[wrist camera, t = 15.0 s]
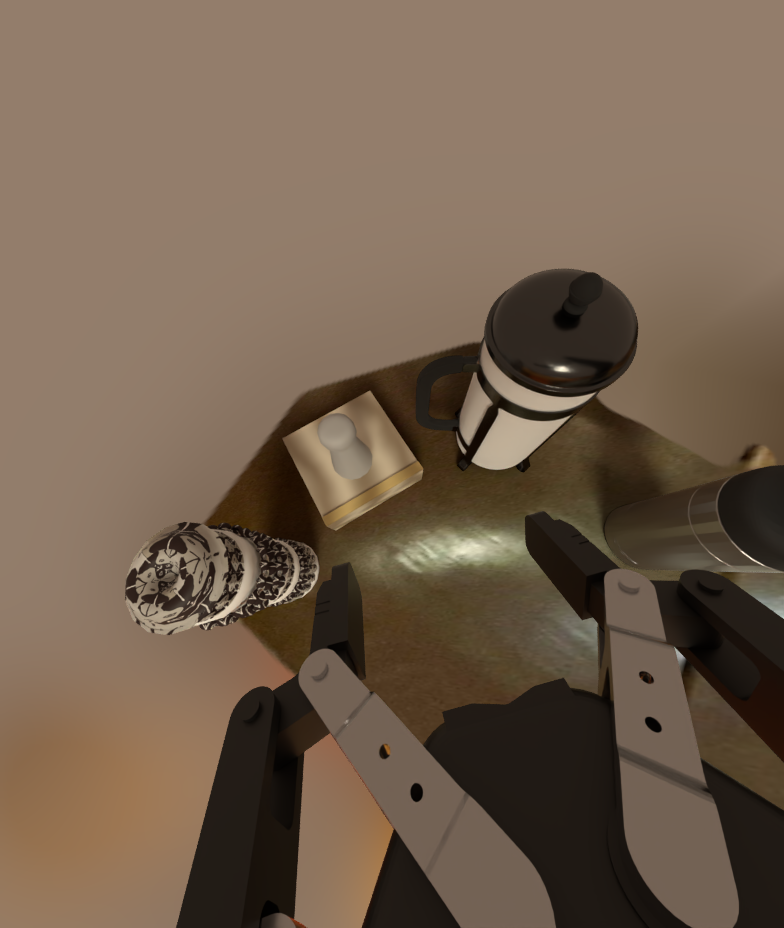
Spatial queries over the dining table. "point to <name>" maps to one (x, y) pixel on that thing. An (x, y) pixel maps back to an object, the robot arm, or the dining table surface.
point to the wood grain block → (358, 496)
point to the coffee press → (535, 365)
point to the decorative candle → (214, 576)
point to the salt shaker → (344, 446)
